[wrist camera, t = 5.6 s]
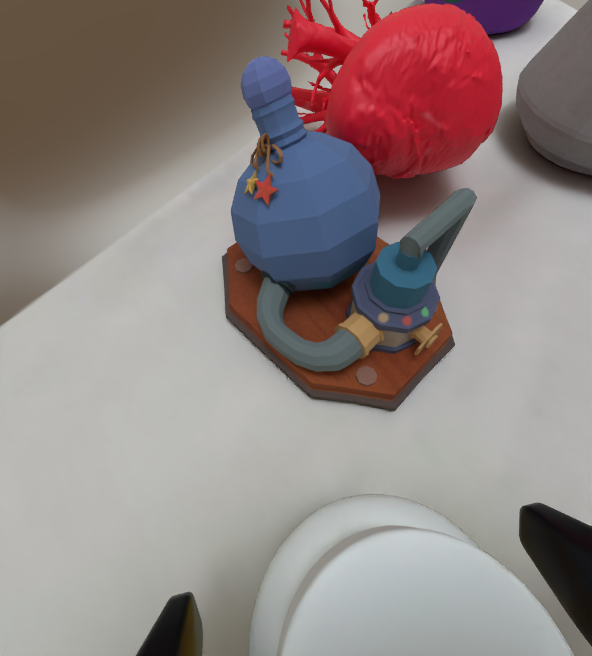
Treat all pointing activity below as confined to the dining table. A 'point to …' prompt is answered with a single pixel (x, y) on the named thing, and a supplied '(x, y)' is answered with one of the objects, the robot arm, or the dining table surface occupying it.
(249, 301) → the model
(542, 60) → the coffee pot
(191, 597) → the robot arm
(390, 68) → the heart organ
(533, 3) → the mug
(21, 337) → the dining table surface
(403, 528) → the supplement bottle
